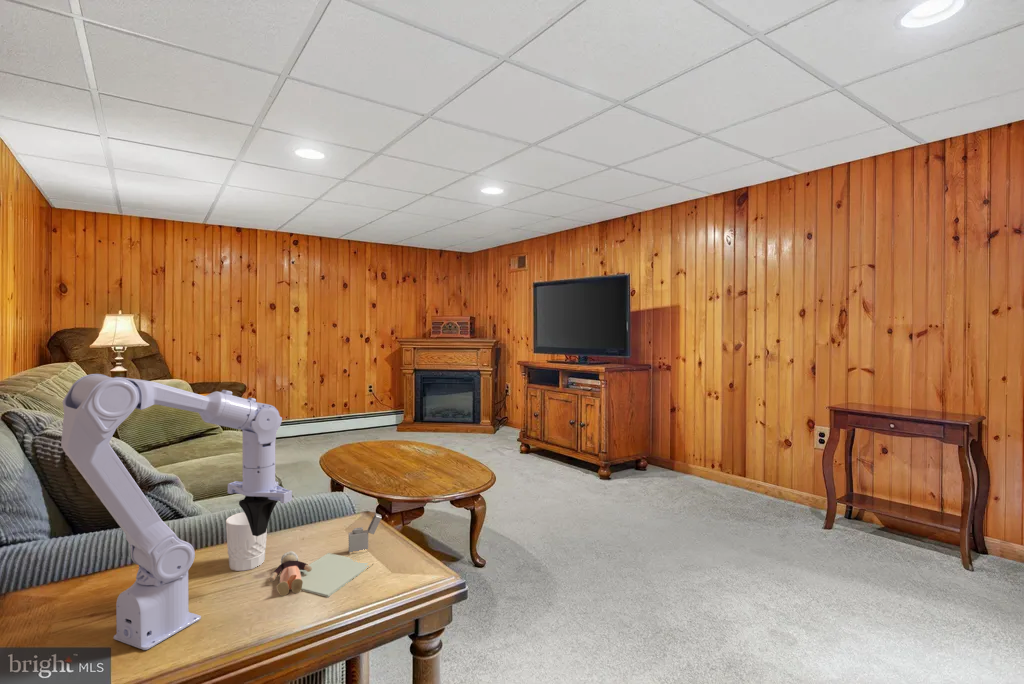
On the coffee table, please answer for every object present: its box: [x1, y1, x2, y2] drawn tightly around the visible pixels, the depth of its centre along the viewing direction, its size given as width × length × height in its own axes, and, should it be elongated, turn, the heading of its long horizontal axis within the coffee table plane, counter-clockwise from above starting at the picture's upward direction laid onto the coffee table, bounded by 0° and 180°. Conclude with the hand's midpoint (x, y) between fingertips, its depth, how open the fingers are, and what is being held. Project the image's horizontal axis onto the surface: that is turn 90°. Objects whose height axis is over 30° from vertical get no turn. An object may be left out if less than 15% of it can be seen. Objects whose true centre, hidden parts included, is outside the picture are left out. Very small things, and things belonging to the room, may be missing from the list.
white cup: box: [225, 511, 268, 572], centre depth 108 cm, size 8×8×10 cm
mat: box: [278, 552, 369, 598], centre depth 104 cm, size 14×12×1 cm
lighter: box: [348, 513, 382, 553], centre depth 115 cm, size 7×2×8 cm, turn 114°
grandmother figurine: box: [268, 550, 312, 597], centre depth 102 cm, size 8×4×13 cm
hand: (259, 533), depth 99 cm, fingers closed
